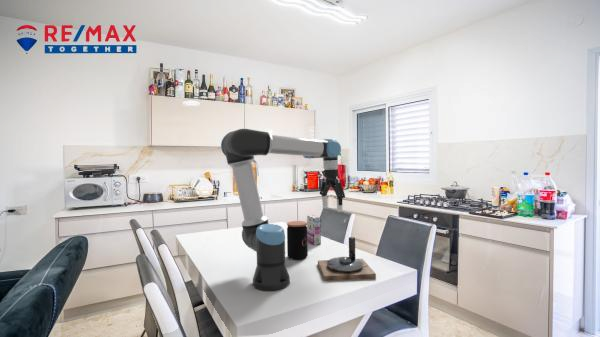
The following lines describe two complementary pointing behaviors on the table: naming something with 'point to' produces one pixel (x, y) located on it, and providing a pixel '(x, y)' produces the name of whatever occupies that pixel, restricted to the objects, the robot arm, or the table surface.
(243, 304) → the table surface
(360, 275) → the walnut base
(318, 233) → the candy bar box
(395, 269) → the table surface
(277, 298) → the table surface
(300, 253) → the coffee jar
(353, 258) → the capstan turntable
